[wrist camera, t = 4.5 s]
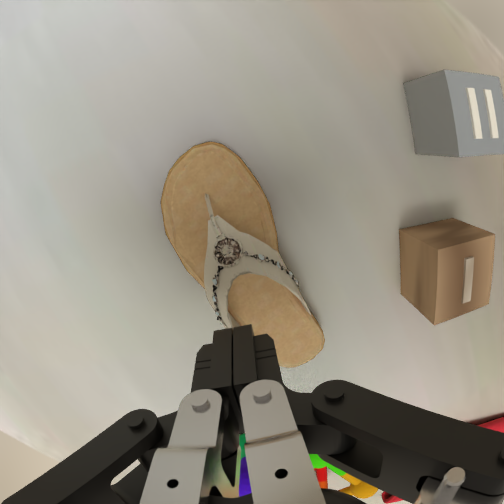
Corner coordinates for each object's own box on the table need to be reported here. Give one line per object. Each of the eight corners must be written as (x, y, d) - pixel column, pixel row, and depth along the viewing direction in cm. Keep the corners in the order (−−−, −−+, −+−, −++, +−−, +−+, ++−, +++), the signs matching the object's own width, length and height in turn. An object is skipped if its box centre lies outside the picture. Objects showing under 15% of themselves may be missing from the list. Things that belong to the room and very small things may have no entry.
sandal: (221, 129, 18) (217, 120, 13) (346, 318, 23) (371, 357, 18) (135, 193, 19) (105, 206, 14) (270, 364, 23) (279, 410, 19)
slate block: (455, 85, 17) (500, 76, 12) (465, 149, 19) (512, 153, 14) (402, 83, 17) (446, 69, 12) (415, 154, 19) (461, 157, 14)
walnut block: (452, 217, 20) (496, 235, 15) (451, 278, 22) (490, 305, 17) (398, 229, 20) (439, 250, 15) (400, 293, 22) (435, 326, 17)
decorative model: (308, 517, 25) (180, 528, 19) (293, 454, 32) (174, 446, 26) (404, 483, 20) (265, 516, 13) (376, 406, 26) (244, 393, 20)
